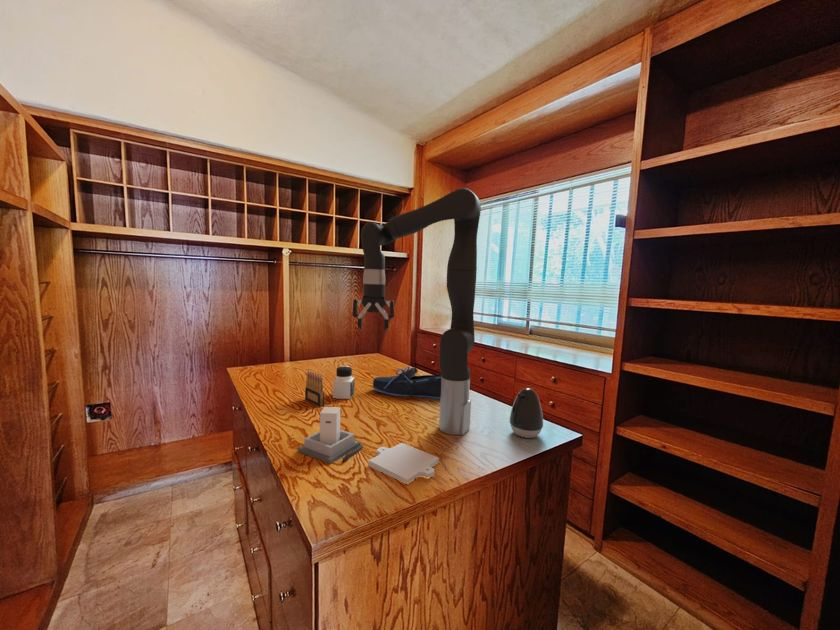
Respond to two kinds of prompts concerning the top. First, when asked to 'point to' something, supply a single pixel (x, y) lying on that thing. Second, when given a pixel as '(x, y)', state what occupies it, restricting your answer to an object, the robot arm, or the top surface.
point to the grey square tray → (329, 447)
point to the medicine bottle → (343, 383)
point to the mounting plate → (404, 462)
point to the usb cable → (352, 452)
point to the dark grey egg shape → (526, 414)
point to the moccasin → (409, 384)
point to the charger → (330, 425)
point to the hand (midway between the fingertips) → (373, 329)
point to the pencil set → (314, 389)
